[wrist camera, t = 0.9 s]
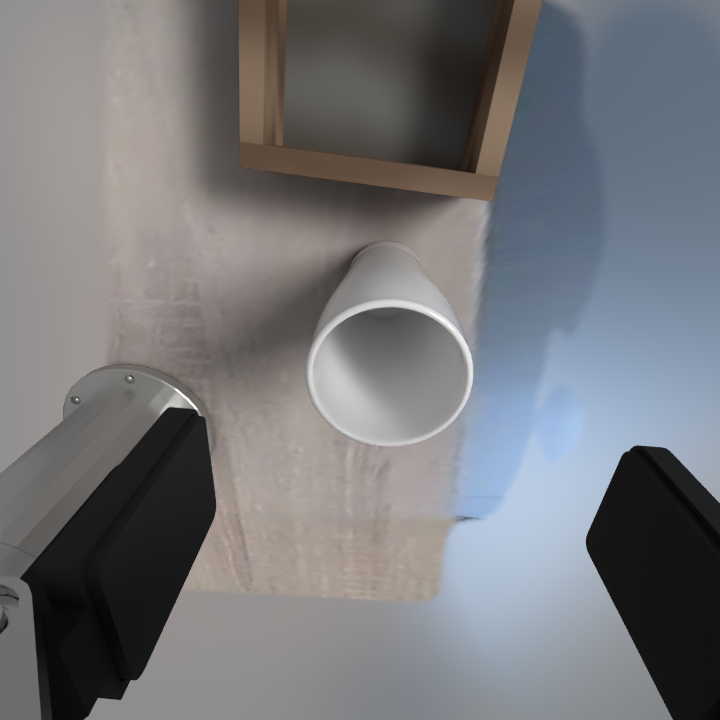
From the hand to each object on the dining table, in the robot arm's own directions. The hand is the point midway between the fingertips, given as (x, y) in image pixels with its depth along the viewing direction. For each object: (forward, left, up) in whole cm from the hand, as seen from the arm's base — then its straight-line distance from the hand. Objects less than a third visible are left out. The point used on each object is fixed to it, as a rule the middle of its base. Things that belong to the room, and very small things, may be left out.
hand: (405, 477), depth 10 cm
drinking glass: (-1, 0, -22) cm, 22 cm away
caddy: (+12, +2, -22) cm, 25 cm away
